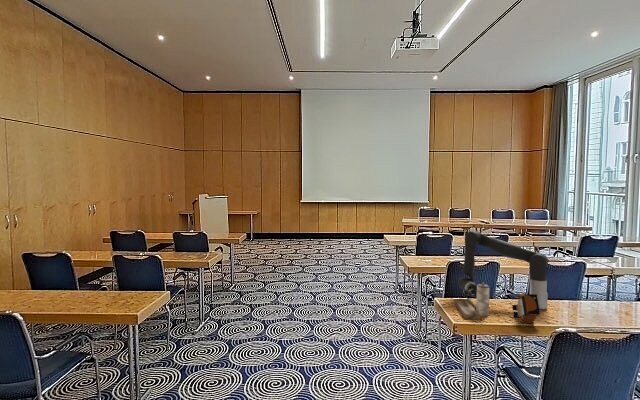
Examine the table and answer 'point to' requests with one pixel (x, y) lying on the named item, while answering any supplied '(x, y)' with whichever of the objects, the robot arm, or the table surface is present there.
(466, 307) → the walnut board
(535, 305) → the toy
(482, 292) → the pale block with peg
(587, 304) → the table surface
